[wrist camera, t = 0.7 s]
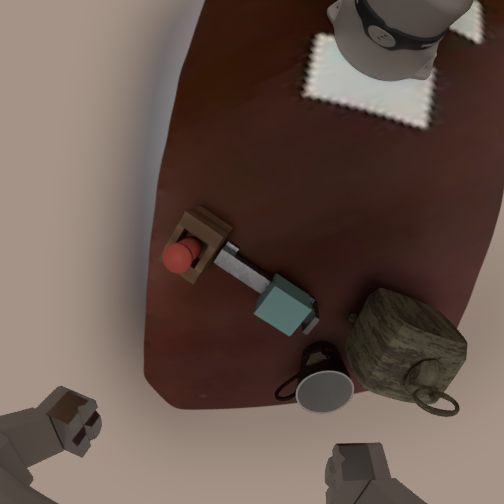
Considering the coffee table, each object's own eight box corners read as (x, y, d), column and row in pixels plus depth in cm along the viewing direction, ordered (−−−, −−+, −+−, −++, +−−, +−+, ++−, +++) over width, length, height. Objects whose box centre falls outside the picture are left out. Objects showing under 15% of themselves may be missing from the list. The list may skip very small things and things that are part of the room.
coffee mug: (348, 336, 48) (359, 370, 39) (340, 376, 51) (347, 413, 41) (280, 333, 50) (277, 368, 40) (276, 374, 52) (272, 411, 42)
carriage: (277, 271, 45) (275, 285, 40) (309, 293, 46) (311, 310, 40) (258, 297, 47) (253, 313, 41) (290, 318, 47) (289, 336, 41)
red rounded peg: (186, 228, 41) (171, 237, 35) (208, 243, 41) (196, 255, 35) (174, 250, 42) (157, 262, 36) (195, 265, 42) (181, 279, 36)
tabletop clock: (337, 321, 48) (366, 435, 24) (360, 271, 45) (419, 363, 21) (407, 343, 48) (462, 444, 23) (431, 299, 45) (509, 385, 21)
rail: (228, 240, 47) (220, 249, 41) (318, 300, 47) (322, 317, 42) (215, 260, 48) (205, 273, 42) (303, 318, 48) (304, 337, 43)
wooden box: (200, 205, 46) (185, 211, 39) (233, 227, 46) (223, 237, 39) (175, 247, 48) (157, 259, 41) (206, 269, 48) (193, 284, 42)
